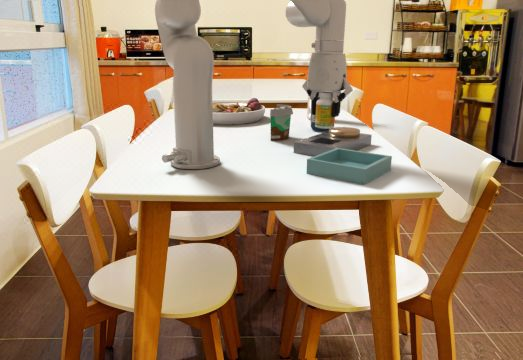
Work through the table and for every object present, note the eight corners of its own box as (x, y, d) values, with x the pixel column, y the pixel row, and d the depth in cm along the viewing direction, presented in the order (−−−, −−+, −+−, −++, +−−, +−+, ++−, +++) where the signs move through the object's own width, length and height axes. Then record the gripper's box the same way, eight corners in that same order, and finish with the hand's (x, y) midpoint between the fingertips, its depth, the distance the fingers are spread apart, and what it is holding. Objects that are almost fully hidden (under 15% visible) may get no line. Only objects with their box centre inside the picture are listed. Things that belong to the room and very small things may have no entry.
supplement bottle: (318, 129, 132) (320, 93, 129) (312, 125, 137) (314, 91, 134) (336, 128, 133) (339, 93, 130) (330, 125, 138) (332, 91, 135)
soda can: (321, 127, 172) (322, 93, 169) (334, 130, 167) (336, 95, 163) (306, 129, 168) (307, 95, 165) (319, 133, 163) (320, 97, 159)
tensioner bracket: (334, 159, 128) (335, 142, 127) (293, 152, 136) (294, 136, 134) (370, 144, 146) (371, 129, 145) (332, 139, 153) (333, 125, 152)
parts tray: (364, 184, 107) (365, 169, 106) (306, 173, 115) (306, 159, 114) (390, 170, 118) (391, 156, 117) (336, 160, 127) (336, 147, 126)
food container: (289, 142, 148) (290, 110, 145) (269, 141, 149) (270, 109, 146) (294, 134, 160) (295, 104, 157) (276, 134, 161) (277, 104, 158)
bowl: (206, 129, 170) (205, 107, 168) (177, 116, 195) (176, 97, 193) (279, 122, 184) (279, 101, 182) (243, 111, 209) (243, 93, 207)
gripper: (294, 46, 131) (291, 113, 136) (352, 48, 121) (346, 120, 126) (308, 46, 137) (305, 110, 142) (364, 48, 127) (359, 117, 132)
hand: (325, 114), depth 134 cm, fingers closed on supplement bottle, 5 cm apart
